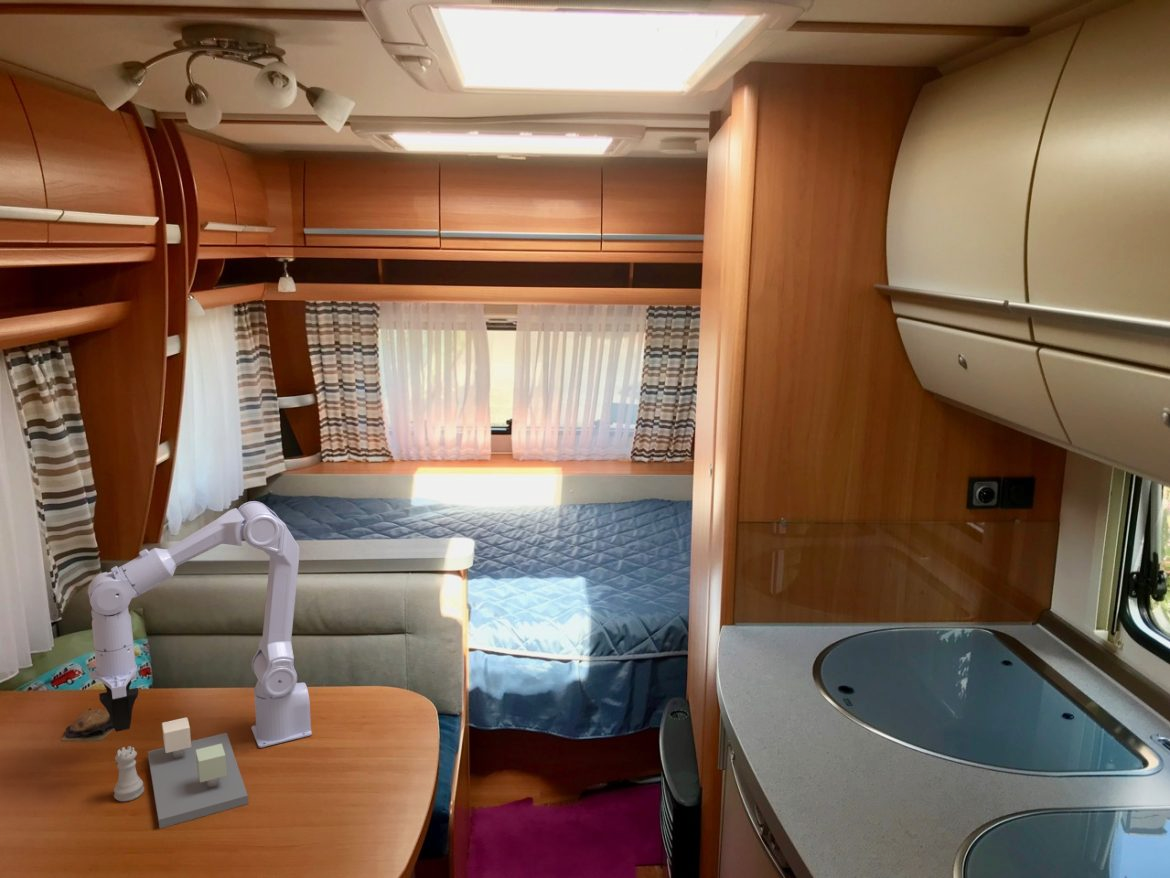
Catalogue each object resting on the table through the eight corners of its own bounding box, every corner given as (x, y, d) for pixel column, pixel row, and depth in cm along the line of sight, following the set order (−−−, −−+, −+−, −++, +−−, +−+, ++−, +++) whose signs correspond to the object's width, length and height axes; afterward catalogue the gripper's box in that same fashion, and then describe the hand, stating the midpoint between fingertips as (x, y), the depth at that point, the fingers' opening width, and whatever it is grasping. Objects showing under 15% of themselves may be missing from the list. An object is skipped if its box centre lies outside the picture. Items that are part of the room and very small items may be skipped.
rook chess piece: (131, 804, 138) (127, 759, 137) (107, 800, 139) (103, 755, 138) (150, 788, 143) (147, 744, 141) (127, 785, 143) (123, 741, 142)
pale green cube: (222, 763, 144) (221, 743, 143) (226, 775, 140) (225, 755, 140) (197, 770, 142) (195, 749, 141) (200, 782, 138) (198, 761, 138)
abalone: (102, 745, 156) (100, 726, 156) (56, 744, 156) (54, 726, 155) (132, 715, 167) (130, 697, 166) (88, 714, 167) (86, 697, 166)
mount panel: (227, 740, 158) (225, 720, 157) (248, 803, 139) (246, 781, 138) (148, 759, 151) (146, 738, 150) (159, 828, 132) (157, 805, 132)
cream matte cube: (188, 736, 152) (187, 717, 151) (191, 747, 149) (189, 727, 148) (163, 742, 150) (162, 722, 149) (165, 753, 147) (164, 733, 146)
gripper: (85, 633, 147) (93, 706, 149) (87, 666, 134) (95, 745, 137) (132, 625, 150) (138, 696, 153) (137, 657, 138) (144, 734, 141)
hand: (121, 719), depth 145 cm, fingers open, 7 cm apart
